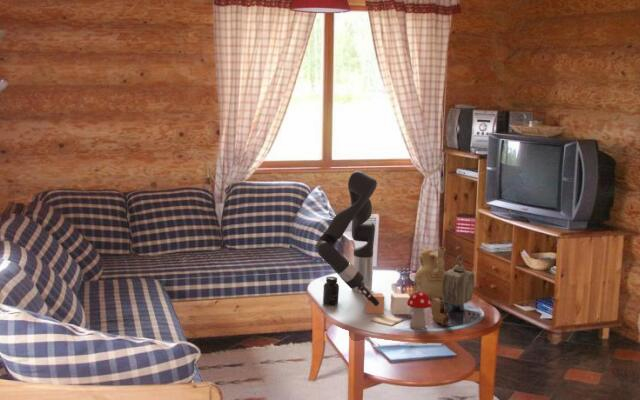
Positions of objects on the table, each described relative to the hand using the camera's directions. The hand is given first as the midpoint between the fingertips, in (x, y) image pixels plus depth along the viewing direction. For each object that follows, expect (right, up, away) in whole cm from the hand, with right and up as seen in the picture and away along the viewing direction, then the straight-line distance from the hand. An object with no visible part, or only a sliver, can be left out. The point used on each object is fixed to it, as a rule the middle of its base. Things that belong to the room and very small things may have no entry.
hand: (376, 302), depth 322 cm
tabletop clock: (+36, -5, +8) cm, 38 cm away
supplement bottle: (-20, -2, +10) cm, 22 cm away
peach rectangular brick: (-1, -4, +1) cm, 4 cm away
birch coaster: (+4, -6, -11) cm, 13 cm away
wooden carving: (+26, -7, -9) cm, 28 cm away
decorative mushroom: (+16, -8, -17) cm, 25 cm away
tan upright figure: (+28, -1, +29) cm, 40 cm away
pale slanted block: (+10, -5, +2) cm, 11 cm away
